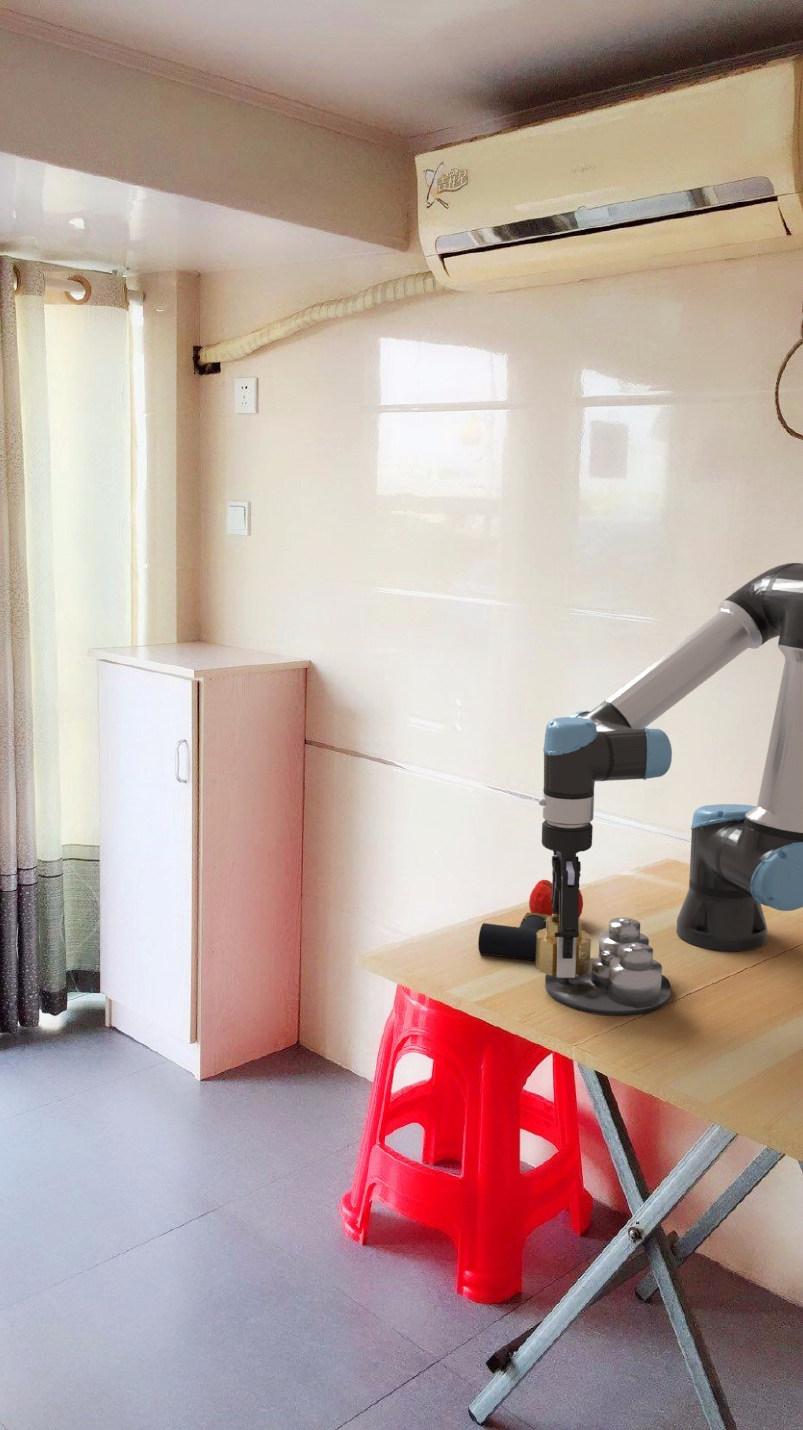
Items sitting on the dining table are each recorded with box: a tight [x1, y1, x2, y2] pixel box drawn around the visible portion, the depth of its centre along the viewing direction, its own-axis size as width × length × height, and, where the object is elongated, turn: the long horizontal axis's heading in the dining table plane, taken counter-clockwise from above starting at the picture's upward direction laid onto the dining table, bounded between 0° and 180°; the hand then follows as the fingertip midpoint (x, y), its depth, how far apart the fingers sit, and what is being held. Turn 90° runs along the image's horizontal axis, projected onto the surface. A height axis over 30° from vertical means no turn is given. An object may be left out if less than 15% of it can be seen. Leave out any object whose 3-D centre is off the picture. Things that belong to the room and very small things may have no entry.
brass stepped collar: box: [535, 914, 592, 977], centre depth 177 cm, size 8×8×8 cm
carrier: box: [544, 917, 672, 1017], centre depth 178 cm, size 19×19×9 cm
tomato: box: [528, 879, 584, 918], centre depth 207 cm, size 9×9×8 cm
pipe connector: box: [477, 912, 550, 962], centre depth 194 cm, size 12×5×15 cm
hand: (562, 965), depth 178 cm, fingers closed on brass stepped collar, 8 cm apart
